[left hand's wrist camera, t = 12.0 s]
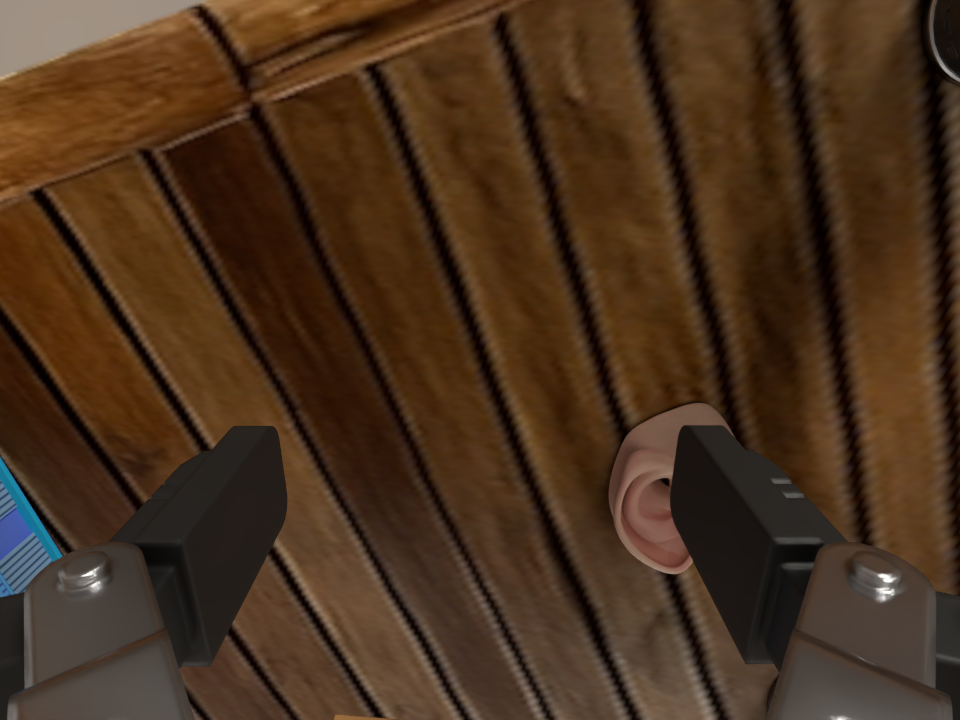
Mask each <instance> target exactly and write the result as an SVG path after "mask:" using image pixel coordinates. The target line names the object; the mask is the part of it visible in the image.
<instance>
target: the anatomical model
mask: <svg viewBox="0 0 960 720" xmlns="http://www.w3.org/2000/svg"><path fill="white" fill-rule="evenodd" d="M684 425H723V426H725V427H726V428H727V429H728V431H729V432H730V433H731V434H732V435H733V433H732V431H731V430H730V428H729V426H728V425H727V423H726V422H725V420H724V419H723V418H722V416H721V415H720V414H719V413H718V412H717V411H716V410H715V409H714V408H713V407H711V406H710V405H708V404H705V403H693V404H688V405H685V406H681V407H678V408H675V409H673V410H670V411H667V412H665V413H662V414H659V415H657V416H655V417H653V418H651V419H649V420H647V421H645V422H644V423H642V424H640V425H638V426H637V427H635V428H634V429H633V430H631V431H630V432H629V434H628V435H627V436H626V437H625V439H624V441H623V443H622V445H621V447H620V450H619V452H618V455H617V458H616V461H615V464H614V467H613V470H612V474H611V479H610V484H609V505H610V509H611V513H612V516H613V521H614V525H615V528H616V531H617V533H618V535H619V538H620V539H621V541H622V543H623V544H624V545H625V547H626V548H627V549H628V551H629V552H630V553H631V554H632V555H634V556H635V557H636V558H637V559H638V560H640V561H641V562H643V563H645V564H646V565H648V566H650V567H652V568H654V569H656V570H659V571H661V572H665V573H669V574H678V573H681V572H683V571H685V570H686V569H687V568H688V567H689V566H690V565H691V563H692V562H693V560H692V558H691V556H690V554H689V552H688V550H687V548H686V546H685V544H684V542H683V541H682V539H681V537H680V535H679V533H678V531H677V529H676V527H675V525H674V522H673V519H672V515H671V509H670V490H671V483H672V476H673V469H674V462H675V454H676V447H677V440H678V435H679V431H680V429H681V428H682V426H684ZM733 436H734V435H733Z"/></svg>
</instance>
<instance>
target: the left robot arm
mask: <svg viewBox="0 0 960 720" xmlns="http://www.w3.org/2000/svg"><path fill="white" fill-rule="evenodd" d="M923 37H924V44H925V48H926V52H927V54H928V57H929V59H930V61H931V63H932V65H933V66H934V68H935V69H936V70H937V71H938V72H939V74H941V75H942V76H943V77H944V78H945V79H947V80H948V81H950V82H952V83H954V84H956V85H959V86H960V0H927V4H926V8H925V13H924V20H923ZM670 509H671V515H672V519H673V522H674V525H675V527H676V529H677V531H678V533H679V535H680V537H681V539H682V541H683V542H684V544H685V546H686V548H687V550H688V552H689V554H690V556H691V558H692V560H693V562H694V564H695V566H696V568H697V570H698V572H699V574H700V576H701V578H702V580H703V582H704V584H705V586H706V587H707V589H708V591H709V593H710V595H711V597H712V599H713V601H714V603H715V605H716V607H717V609H718V611H719V613H720V615H721V617H722V619H723V621H724V623H725V625H726V627H727V629H728V631H729V632H730V634H731V636H732V638H733V640H734V642H735V644H736V646H737V648H738V650H739V652H740V654H741V656H742V658H743V660H744V662H745V664H775V666H776V668H777V669H778V671H779V673H780V674H779V677H778V680H777V683H776V687H775V690H774V693H773V697H772V700H771V703H770V707H769V710H768V713H767V717H766V720H960V596H955V595H951V594H946V593H941V592H937V591H935V590H934V588H933V586H932V584H931V583H930V582H929V580H928V579H927V578H926V577H925V576H924V575H923V574H922V573H921V572H920V571H919V570H918V569H916V568H915V567H914V566H912V565H911V564H909V563H908V562H906V561H905V560H903V559H901V558H899V557H897V556H895V555H893V554H891V553H889V552H887V551H884V550H881V549H879V548H876V547H872V546H869V545H865V544H860V543H853V542H848V541H847V540H846V539H845V538H844V537H843V536H842V535H841V534H840V533H839V532H838V531H837V529H836V528H835V527H834V526H833V525H832V524H831V523H830V522H829V521H828V520H827V519H826V518H825V516H824V515H823V514H822V513H821V512H820V511H819V510H818V509H817V508H816V507H815V506H814V505H813V504H812V502H811V501H810V500H809V499H808V498H804V494H803V493H802V492H801V491H800V489H799V488H798V487H797V486H796V485H795V484H791V480H790V479H789V478H788V477H787V475H786V474H785V473H784V472H783V471H782V470H781V469H780V468H779V467H778V466H777V465H776V464H775V463H773V462H772V461H770V460H768V459H767V458H765V457H763V456H762V455H760V454H758V453H757V452H755V451H753V450H745V449H744V448H743V447H742V446H741V444H740V443H739V442H738V441H737V440H736V439H735V437H734V436H733V435H732V434H731V433H730V432H729V431H728V429H727V428H726V427H725V426H723V425H684V426H682V428H681V429H680V431H679V435H678V440H677V447H676V454H675V462H674V469H673V476H672V483H671V490H670ZM286 511H287V490H286V483H285V476H284V469H283V462H282V455H281V448H280V441H279V436H278V432H277V430H276V429H275V427H273V426H234V427H232V428H231V429H230V430H229V431H228V432H227V433H226V434H225V436H224V437H223V438H222V439H221V440H220V441H219V442H218V444H217V445H216V446H215V447H214V448H213V449H212V450H211V451H203V452H202V453H200V454H198V455H197V456H195V457H193V458H191V459H190V460H188V461H186V462H185V463H183V464H181V465H180V466H179V467H178V468H177V469H176V470H175V471H174V472H173V474H172V475H171V476H170V477H169V478H168V479H167V480H166V481H165V485H161V486H160V487H159V489H158V490H157V491H156V492H155V493H154V494H153V495H152V499H148V500H147V501H146V502H145V504H144V505H143V506H142V507H141V508H140V509H139V510H138V511H137V512H136V513H135V514H134V515H133V516H132V517H131V519H130V520H129V521H128V522H127V523H126V524H125V525H124V526H123V527H122V528H121V529H120V530H119V531H118V532H117V533H116V535H115V536H114V537H113V538H112V539H111V540H110V541H109V542H107V543H100V544H95V545H91V546H88V547H84V548H81V549H79V550H76V551H73V552H71V553H69V554H67V555H65V556H63V557H61V558H59V559H57V560H55V561H54V562H52V563H51V564H49V565H48V566H46V567H45V568H44V569H42V570H41V571H40V572H39V573H38V574H37V575H36V576H35V577H34V578H33V579H32V580H31V582H30V583H29V584H28V586H27V588H26V590H25V592H22V593H18V594H13V595H9V596H4V597H0V720H194V717H193V713H192V710H191V707H190V703H189V700H188V697H187V693H186V690H185V687H184V683H183V680H182V677H181V674H180V670H179V669H180V667H181V666H210V665H211V663H212V661H213V659H214V657H215V656H216V654H217V652H218V650H219V648H220V646H221V644H222V642H223V640H224V638H225V636H226V634H227V632H228V630H229V628H230V627H231V625H232V623H233V621H234V619H235V617H236V615H237V613H238V611H239V609H240V607H241V605H242V603H243V601H244V599H245V598H246V596H247V594H248V592H249V590H250V588H251V586H252V584H253V582H254V580H255V578H256V576H257V574H258V572H259V570H260V569H261V567H262V565H263V563H264V561H265V559H266V557H267V555H268V553H269V551H270V549H271V547H272V545H273V543H274V542H275V540H276V538H277V536H278V534H279V532H280V530H281V528H282V526H283V523H284V520H285V516H286Z"/></svg>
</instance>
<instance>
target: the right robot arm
mask: <svg viewBox="0 0 960 720" xmlns="http://www.w3.org/2000/svg"><path fill="white" fill-rule="evenodd" d="M776 683H777V681H776ZM776 683H775V684H774V686H773V688H772V690H771V692H770V695H769V698H768V703H767V711H768V710H769V707H770V703H771V700H772V697H773V693H774V690H775V687H776Z"/></svg>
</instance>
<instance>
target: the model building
mask: <svg viewBox="0 0 960 720" xmlns="http://www.w3.org/2000/svg"><path fill="white" fill-rule="evenodd" d="M61 557H63V556H62V554H61V553H60V551H59V550H58V548H57V546H56V545H55V543H54V542H53V540H52V538H51V537H50V535H49V534H48V532H47V531H46V529H45V527H44V526H43V524H42V523H41V521H40V519H39V518H38V516H37V515H36V513H35V511H34V510H33V508H32V507H31V505H30V504H29V502H28V500H27V499H26V497H25V496H24V494H23V492H22V491H21V489H20V488H19V486H18V485H17V483H16V481H15V480H14V478H13V477H12V475H11V473H10V472H9V470H8V469H7V467H6V465H5V464H4V462H3V461H2V459H1V458H0V597H4V596H9V595H13V594H18V593H22V592H25V590H26V588H27V586H28V584H29V583H30V582H31V580H32V579H33V578H34V577H35V576H36V575H37V574H38V573H39V572H40V571H41V570H42V569H44V568H45V567H46V566H48V565H49V564H51V563H52V562H54V561H55V560H57V559H59V558H61Z"/></svg>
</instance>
